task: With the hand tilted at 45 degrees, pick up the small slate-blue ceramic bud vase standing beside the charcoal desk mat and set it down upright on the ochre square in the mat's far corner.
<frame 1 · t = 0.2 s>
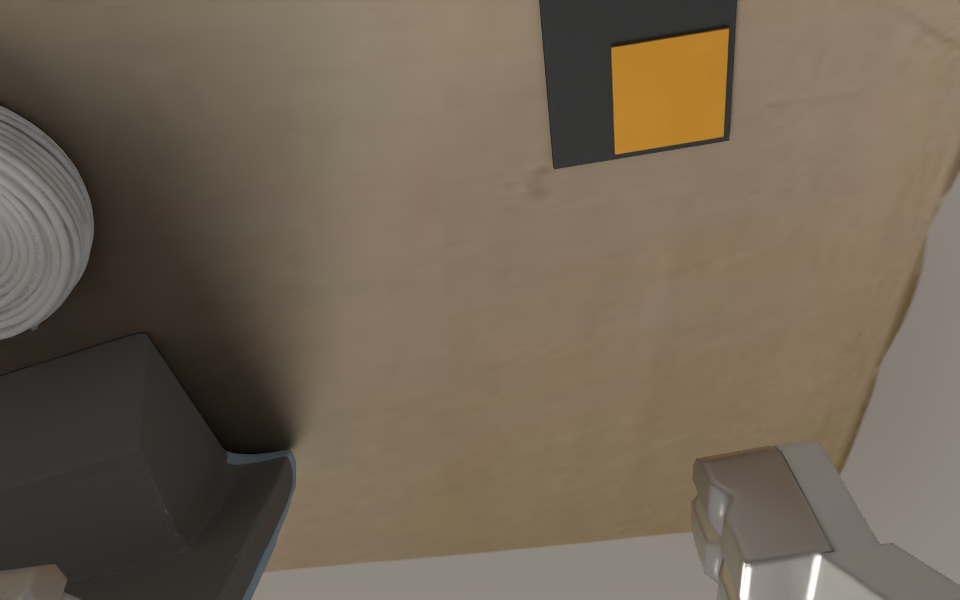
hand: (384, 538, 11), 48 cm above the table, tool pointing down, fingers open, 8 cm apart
touchscreen device: (74, 450, 74), on the table
desk mat: (638, 17, 56), on the table
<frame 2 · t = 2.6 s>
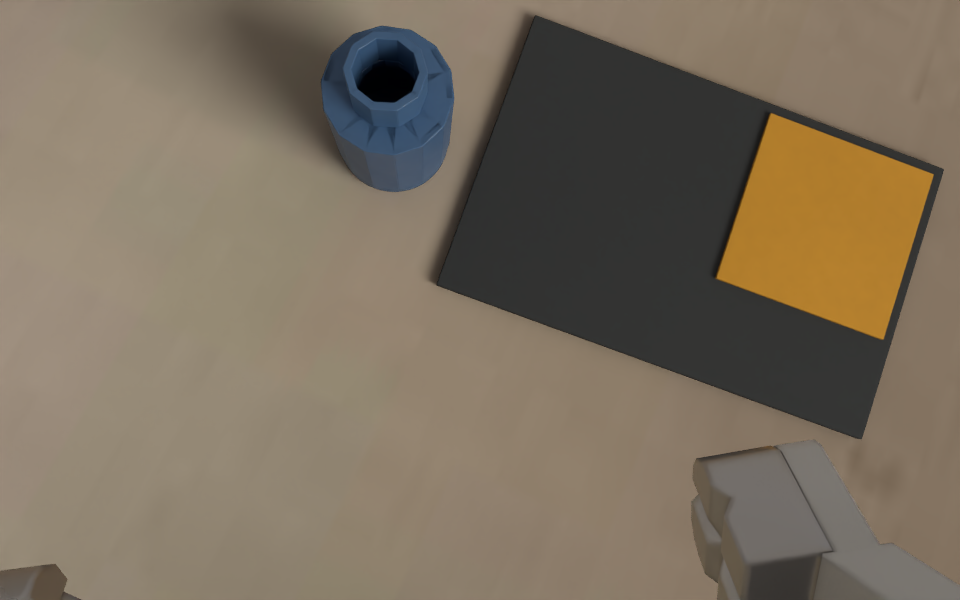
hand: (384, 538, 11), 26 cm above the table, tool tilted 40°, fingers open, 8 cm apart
desk mat: (694, 226, 38), on the table
vase: (393, 138, 37), on the table
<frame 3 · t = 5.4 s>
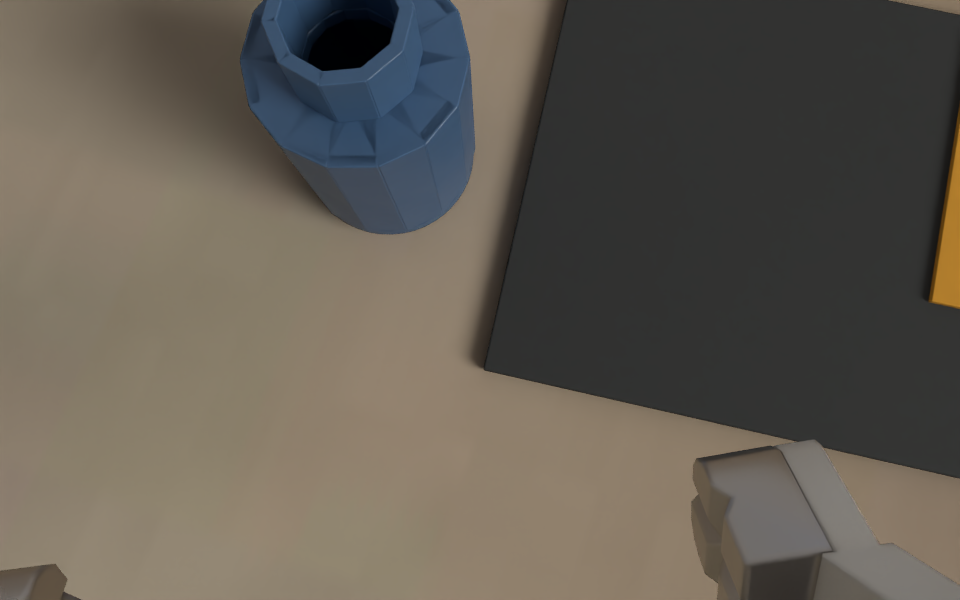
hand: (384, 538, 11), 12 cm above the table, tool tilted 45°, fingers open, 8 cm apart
desk mat: (878, 224, 24), on the table
vase: (390, 153, 24), on the table
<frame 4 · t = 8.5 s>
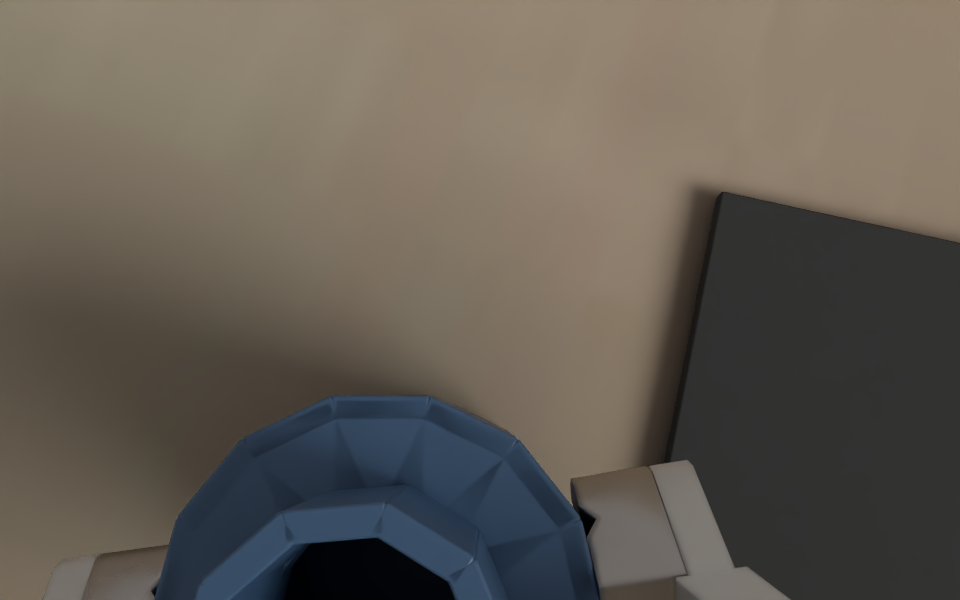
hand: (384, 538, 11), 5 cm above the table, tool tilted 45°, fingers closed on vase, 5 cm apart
vase: (424, 537, 15), on the table, touching gripper
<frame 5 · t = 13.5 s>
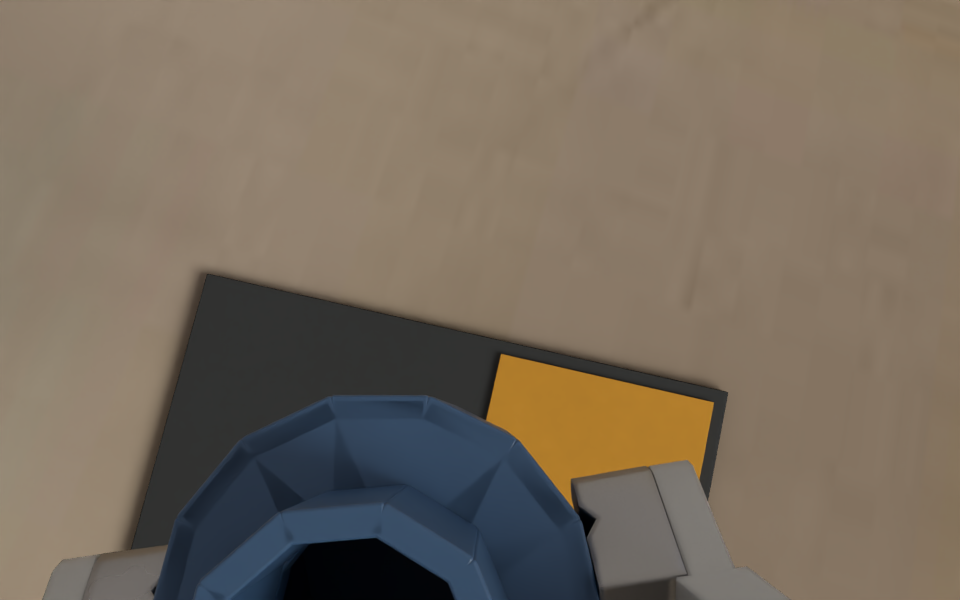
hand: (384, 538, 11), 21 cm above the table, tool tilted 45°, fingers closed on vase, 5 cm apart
desk mat: (424, 504, 31), on the table
vase: (424, 537, 15), point 16 cm above the table, touching gripper
when the fingers open (5 cm above the table, at t = 18.6 s): vase stays where it is, resting on desk mat.
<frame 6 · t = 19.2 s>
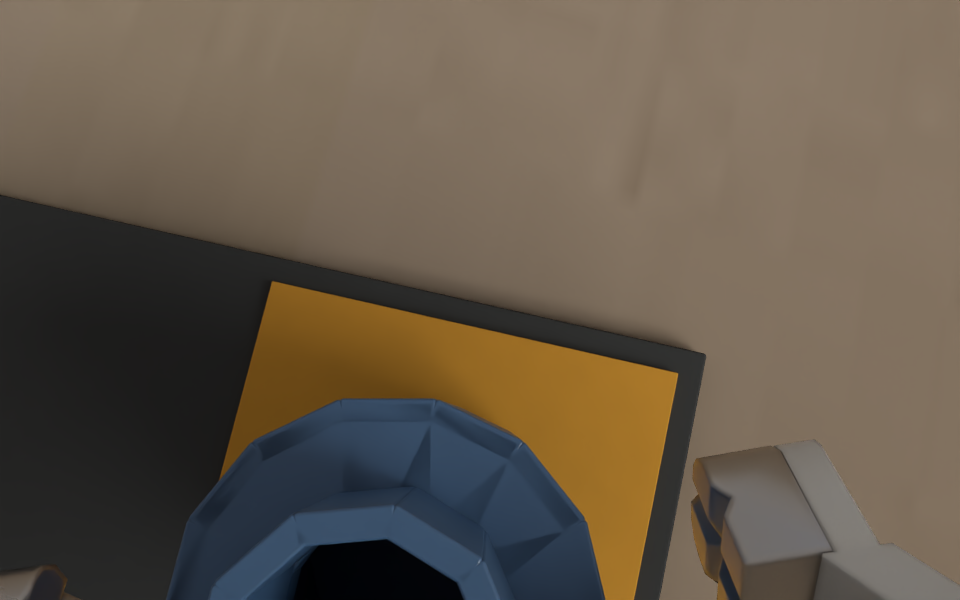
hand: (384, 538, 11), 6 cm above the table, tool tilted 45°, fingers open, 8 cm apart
desk mat: (124, 569, 16), on the table
vase: (429, 537, 16), point 1 cm above the table, touching desk mat
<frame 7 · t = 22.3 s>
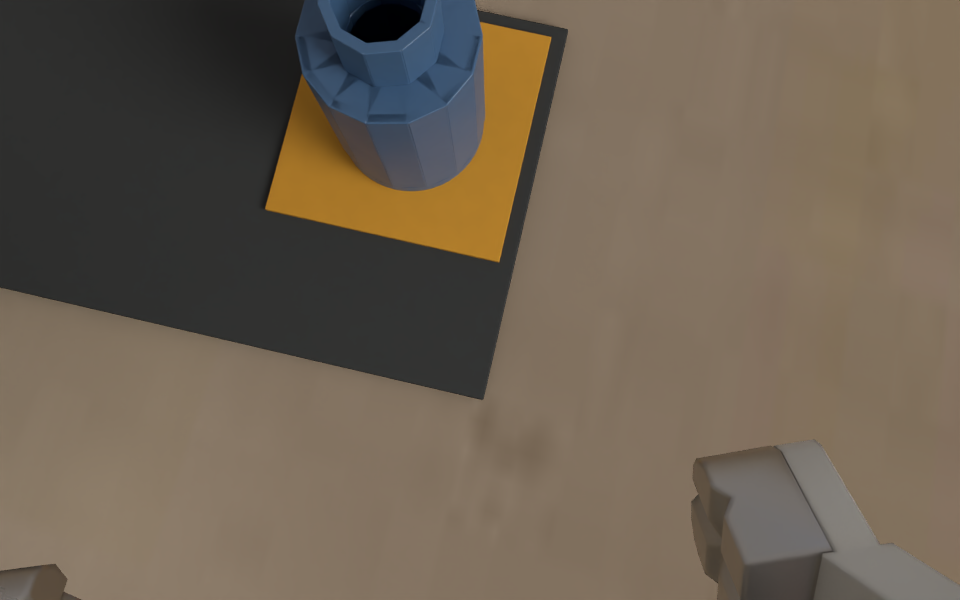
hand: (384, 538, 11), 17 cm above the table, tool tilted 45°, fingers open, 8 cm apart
desk mat: (242, 148, 29), on the table
vase: (412, 122, 28), point 1 cm above the table, touching desk mat
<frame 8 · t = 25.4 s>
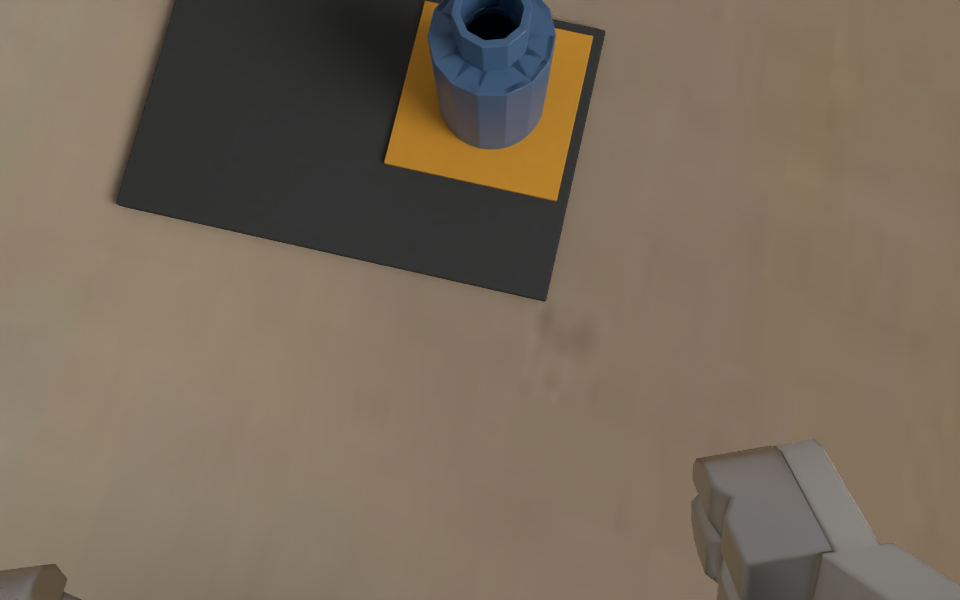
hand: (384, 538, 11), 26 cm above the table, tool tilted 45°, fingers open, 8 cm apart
desk mat: (364, 119, 39), on the table
vase: (491, 99, 39), point 1 cm above the table, touching desk mat
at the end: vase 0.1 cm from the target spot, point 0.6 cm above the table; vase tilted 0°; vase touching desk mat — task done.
